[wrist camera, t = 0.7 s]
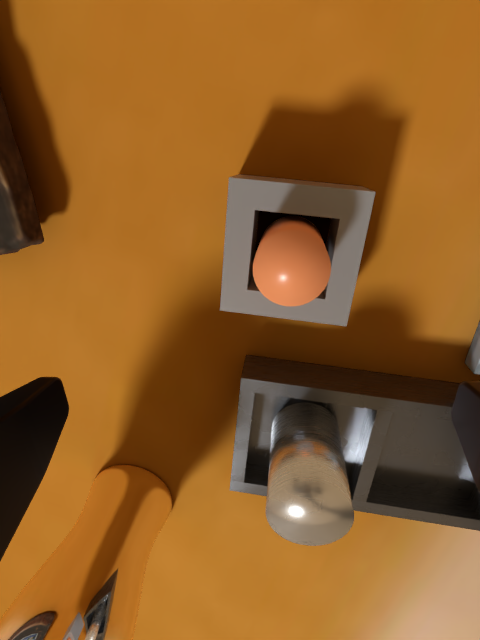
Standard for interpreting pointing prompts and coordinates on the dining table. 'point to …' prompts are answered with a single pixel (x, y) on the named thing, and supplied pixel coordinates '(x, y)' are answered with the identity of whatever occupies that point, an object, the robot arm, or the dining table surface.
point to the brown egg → (291, 262)
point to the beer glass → (95, 564)
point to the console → (303, 199)
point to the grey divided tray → (365, 437)
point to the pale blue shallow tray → (474, 353)
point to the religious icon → (15, 195)
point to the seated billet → (308, 477)
